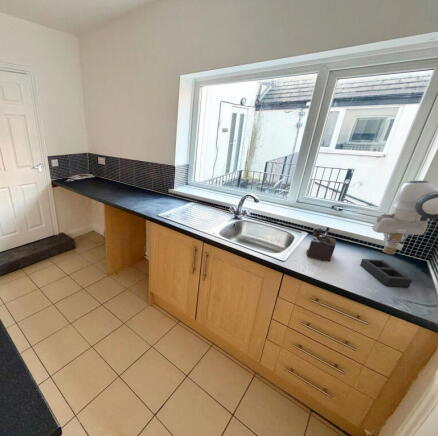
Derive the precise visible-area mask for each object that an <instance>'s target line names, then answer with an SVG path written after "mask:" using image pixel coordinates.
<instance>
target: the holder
mask: <svg viewBox="0 0 438 436" xmlns="http://www.w3.org/2000/svg"><path fill="white" fill-rule="evenodd" d="M359 266H360V267H361V268H362V269H363V270H365V271H366V272H368V274H370V275H371V276H372V277H374V278H375V279H377V281H379V282H380V283H382V284H383V285H385V286H387V287H399V288H410V286H411V283H412V282H413V279H412V278H410V277H409V276H408V275H406V274H405V273H404V272H402V271H400V270H399V269H397V268H396V267H394V266H392V265H391V264H390V263H388V262H386V261H384V260H383V259H373V258H372V259H371V258H361V261H360V264H359Z"/></svg>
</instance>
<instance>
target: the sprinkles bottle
mask: <svg viewBox="0 0 438 436" xmlns="http://www.w3.org/2000/svg"><path fill="white" fill-rule="evenodd" d="M405 231H406V229H397V231H396V234H392V233H391V234H390V235H388V236H389V238H391V239H390V241H389V242H388V241H385V244H384V247H383V249H382V252H383V253H384V254H387V255H395V254H396V251H397V250H398V247H399V245H400V243H401V242H400V241H401V238H402V236H403V234H404V233H405Z"/></svg>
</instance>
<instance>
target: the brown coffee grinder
mask: <svg viewBox="0 0 438 436" xmlns="http://www.w3.org/2000/svg"><path fill="white" fill-rule="evenodd" d="M312 232H313V234H312V236H311V239H310V242H309V246H308V248H307V249H306V256H307V257H309V258H312V259H315V260H317V261H322V262H327V263H330V262H331V260H332V257H333V254H334V251H335V249H336V245H337V239H336V238H334V237H333V238H332V237H329V236H328V235H329V232H330V227H328V226H327V227H326V229H325V231H324V234H323V230H322V228H320V227H314V228H313V229H312Z"/></svg>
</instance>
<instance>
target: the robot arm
mask: <svg viewBox="0 0 438 436" xmlns="http://www.w3.org/2000/svg"><path fill="white" fill-rule="evenodd" d="M395 201H396V202H395V204H393V206H392V209H391V211H390V213H381V214H380V215H378V216H377V218H376V219H375V221H374V222H373V225H372V227H371V228H372V231H373V232H376V233H377V234H383V241H384V242H387V241H388V242H389V241H390V239H391V238H389V235H390V234H391V233H392V234H396V231H397V229H406V231H405V233H404V234H403V236H402V238H401V241H400V243H404V241H405V239H407V238H408V237H409V236H410V235H411V236H422V235H424V234H425V233H426V231H427V228H428V224H429V223H428V222H429V221H430V220H438V187H437V186H435V185H433V184H432V183H431V182H430V181H427V180H410V181H405V183H404V184H403V185H402V186H401V187H400V189H399V191H398V193H397V196H396V200H395Z"/></svg>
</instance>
